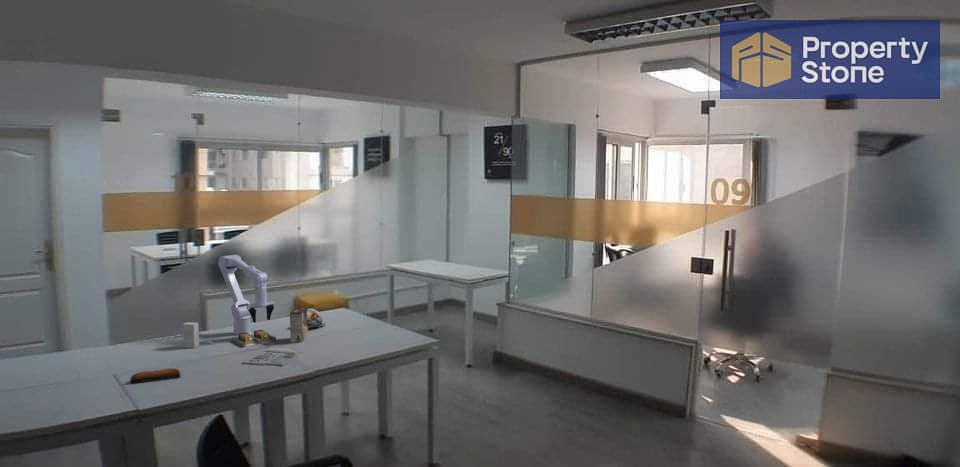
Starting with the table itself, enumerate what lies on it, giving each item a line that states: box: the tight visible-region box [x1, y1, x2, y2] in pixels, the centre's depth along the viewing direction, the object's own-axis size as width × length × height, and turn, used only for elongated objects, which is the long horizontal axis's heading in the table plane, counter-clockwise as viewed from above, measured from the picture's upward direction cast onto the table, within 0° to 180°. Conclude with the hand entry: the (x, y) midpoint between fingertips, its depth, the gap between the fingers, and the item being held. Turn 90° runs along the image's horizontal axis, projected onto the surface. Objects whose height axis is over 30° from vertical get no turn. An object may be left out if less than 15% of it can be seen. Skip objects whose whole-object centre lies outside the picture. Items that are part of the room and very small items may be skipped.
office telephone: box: [242, 347, 303, 367], centre depth 266 cm, size 23×3×20 cm
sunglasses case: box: [130, 367, 181, 385], centre depth 237 cm, size 18×7×7 cm
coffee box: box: [289, 308, 309, 343], centre depth 293 cm, size 9×6×16 cm
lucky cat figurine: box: [301, 308, 326, 329], centre depth 320 cm, size 15×12×14 cm
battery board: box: [231, 333, 277, 348], centre depth 291 cm, size 15×16×3 cm
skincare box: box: [182, 321, 200, 349], centre depth 281 cm, size 6×4×12 cm
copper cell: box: [237, 332, 254, 345], centre depth 287 cm, size 10×4×4 cm, turn 45°
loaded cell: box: [253, 329, 270, 342], centre depth 293 cm, size 10×4×4 cm, turn 45°
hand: (261, 320), depth 297 cm, fingers open, 7 cm apart
